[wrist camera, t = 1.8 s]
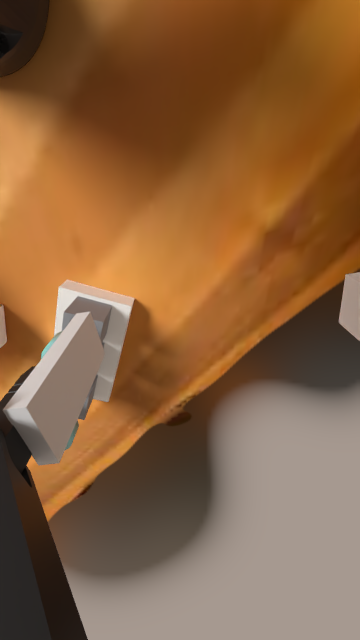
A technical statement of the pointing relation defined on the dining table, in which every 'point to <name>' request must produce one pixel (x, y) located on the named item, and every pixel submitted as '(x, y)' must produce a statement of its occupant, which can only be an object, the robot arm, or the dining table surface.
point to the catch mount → (110, 325)
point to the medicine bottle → (2, 327)
